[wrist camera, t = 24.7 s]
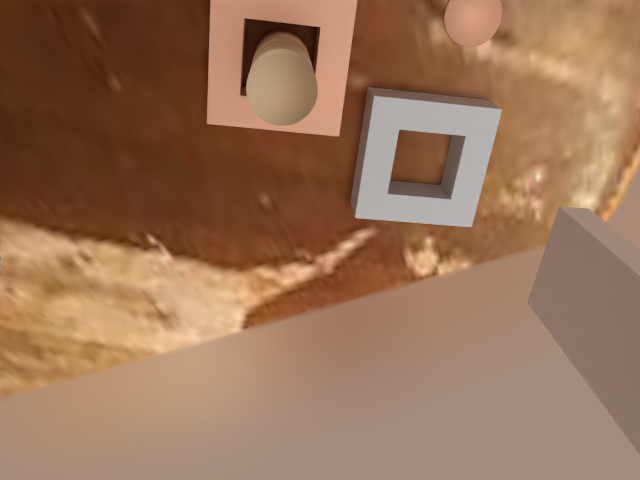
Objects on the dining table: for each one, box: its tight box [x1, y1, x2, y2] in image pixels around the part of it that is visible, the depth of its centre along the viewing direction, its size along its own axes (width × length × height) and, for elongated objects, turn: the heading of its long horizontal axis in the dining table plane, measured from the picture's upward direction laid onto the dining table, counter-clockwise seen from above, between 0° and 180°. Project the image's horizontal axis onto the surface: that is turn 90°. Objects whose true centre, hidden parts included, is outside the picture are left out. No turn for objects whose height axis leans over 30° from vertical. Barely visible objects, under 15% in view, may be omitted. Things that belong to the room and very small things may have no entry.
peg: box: [246, 27, 318, 126], centre depth 33 cm, size 4×4×12 cm
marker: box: [444, 0, 502, 47], centre depth 38 cm, size 4×4×1 cm
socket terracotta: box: [207, 0, 357, 136], centre depth 37 cm, size 9×9×3 cm
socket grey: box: [350, 87, 502, 227], centre depth 41 cm, size 9×9×3 cm
